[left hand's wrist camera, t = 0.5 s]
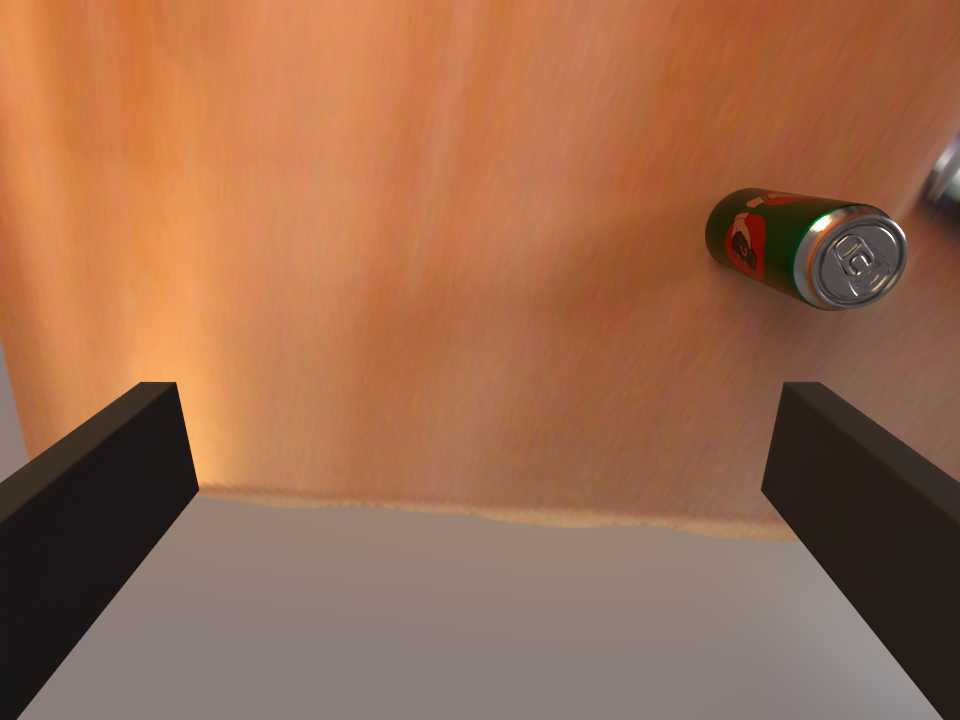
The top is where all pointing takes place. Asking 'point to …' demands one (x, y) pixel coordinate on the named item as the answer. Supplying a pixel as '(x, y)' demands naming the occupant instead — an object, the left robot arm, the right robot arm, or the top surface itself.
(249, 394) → the top surface
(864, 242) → the soda can
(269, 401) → the top surface
